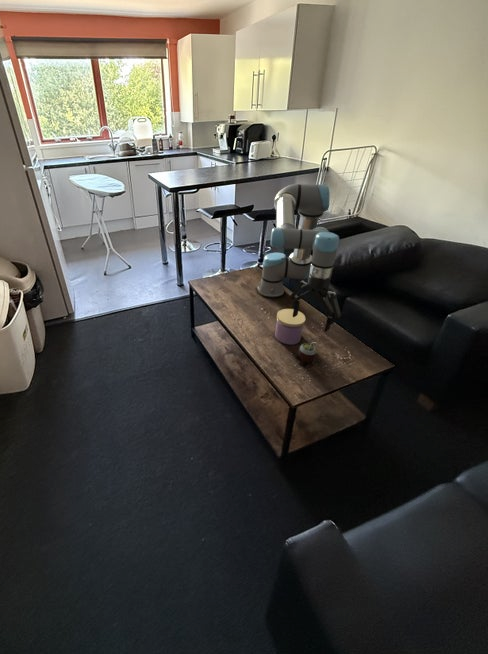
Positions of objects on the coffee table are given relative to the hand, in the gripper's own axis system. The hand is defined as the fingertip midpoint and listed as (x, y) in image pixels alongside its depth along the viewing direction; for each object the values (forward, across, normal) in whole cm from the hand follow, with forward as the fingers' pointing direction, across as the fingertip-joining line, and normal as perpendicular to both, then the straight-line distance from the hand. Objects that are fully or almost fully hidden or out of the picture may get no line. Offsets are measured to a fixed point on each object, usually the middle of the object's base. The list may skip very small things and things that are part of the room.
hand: (310, 322), depth 126 cm
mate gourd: (+21, +1, +1) cm, 21 cm away
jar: (+20, -14, +11) cm, 27 cm away
